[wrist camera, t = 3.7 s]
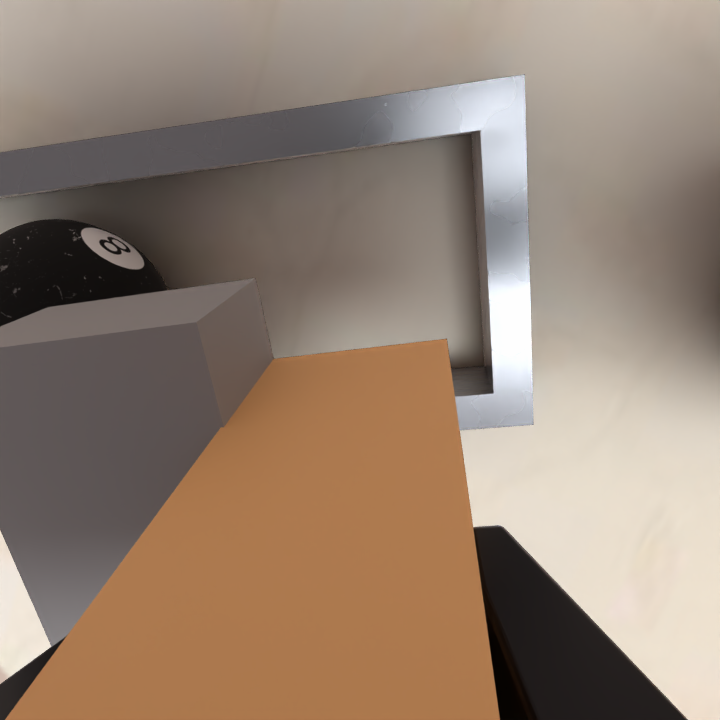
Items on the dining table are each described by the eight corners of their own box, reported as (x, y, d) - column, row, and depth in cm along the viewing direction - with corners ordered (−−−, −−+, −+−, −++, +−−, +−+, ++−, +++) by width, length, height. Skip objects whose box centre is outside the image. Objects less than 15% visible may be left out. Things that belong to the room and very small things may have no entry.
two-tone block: (437, 252, 10) (634, 1457, 1) (470, 558, 12) (627, 1826, 3) (48, 307, 11) (-1767, 1043, 2) (143, 577, 13) (-488, 1531, 4)
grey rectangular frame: (509, 86, 17) (524, 74, 15) (519, 393, 20) (533, 424, 18) (-46, 167, 19) (-109, 168, 17) (47, 431, 23) (5, 463, 20)
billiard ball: (11, 308, 21) (-136, 364, 15) (84, 175, 19) (-53, 184, 13) (146, 402, 22) (53, 488, 16) (228, 285, 20) (157, 336, 14)
